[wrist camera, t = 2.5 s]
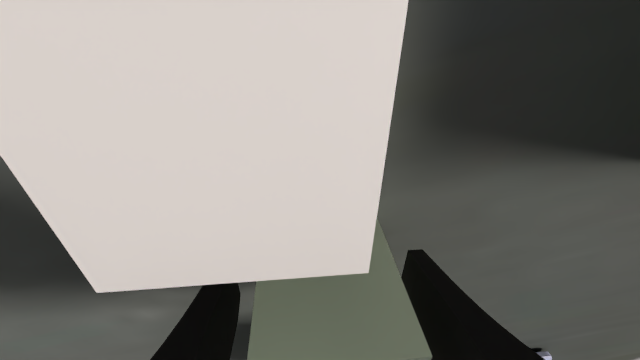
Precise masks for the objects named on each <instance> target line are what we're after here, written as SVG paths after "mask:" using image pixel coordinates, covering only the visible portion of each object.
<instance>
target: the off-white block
mask: <svg viewBox="0 0 640 360" xmlns="http://www.w3.org/2000/svg"><path fill="white" fill-rule="evenodd" d="M407 7H408V0H0V155H1V157H2V158H3V160H4V161H5V163H6V164H7V165H8V167H9V168H10V170H11V171H12V173H13V174H14V175H15V177H16V178H17V180H18V181H19V183H20V184H21V186H22V187H23V188H24V190H25V191H26V193H27V194H28V196H29V197H30V198H31V200H32V201H33V203H34V204H35V206H36V207H37V208H38V210H39V211H40V213H41V214H42V216H43V217H44V218H45V220H46V221H47V223H48V224H49V226H50V227H51V228H52V230H53V231H54V233H55V234H56V236H57V237H58V238H59V240H60V241H61V243H62V244H63V246H64V247H65V248H66V250H67V251H68V253H69V254H70V256H71V257H72V258H73V260H74V261H75V263H76V264H77V266H78V267H79V268H80V270H81V271H82V273H83V274H84V276H85V277H86V278H87V280H88V281H89V283H90V284H91V286H92V287H93V288H94V290H95V291H96V293H102V292H116V291H129V290H143V289H157V288H170V287H184V286H198V285H211V284H225V283H239V282H252V281H266V280H280V279H293V278H307V277H321V276H335V275H348V274H362V273H369V267H370V260H371V253H372V246H373V240H374V233H375V226H376V219H377V212H378V205H379V198H380V192H381V185H382V178H383V171H384V164H385V157H386V151H387V144H388V137H389V130H390V123H391V116H392V110H393V103H394V96H395V89H396V82H397V75H398V69H399V62H400V55H401V48H402V41H403V34H404V28H405V21H406V14H407Z"/></svg>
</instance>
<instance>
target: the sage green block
mask: <svg viewBox="0 0 640 360" xmlns="http://www.w3.org/2000/svg"><path fill="white" fill-rule="evenodd" d="M431 359H432V354H431V351H430V349H429V346H428V344H427V341H426V339H425V336H424V334H423V331H422V329H421V326H420V324H419V321H418V319H417V316H416V314H415V311H414V309H413V306H412V304H411V301H410V299H409V296H408V294H407V291H406V289H405V286H404V284H403V281H402V279H401V276H400V274H399V271H398V269H397V266H396V264H395V261H394V259H393V256H392V254H391V251H390V249H389V246H388V244H387V241H386V239H385V236H384V234H383V231H382V229H381V226H380V224H379V221H378V219H376V226H375V233H374V240H373V246H372V253H371V260H370V267H369V273H362V274H348V275H335V276H321V277H307V278H293V279H280V280H266V281H256V289H255V297H254V305H253V314H252V322H251V331H250V339H249V348H248V356H247V360H431Z"/></svg>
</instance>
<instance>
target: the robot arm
mask: <svg viewBox="0 0 640 360" xmlns="http://www.w3.org/2000/svg"><path fill="white" fill-rule="evenodd" d="M401 279H402V281H403V284H404V286H405V289H406V291H407V294H408V296H409V299H410V301H411V304H412V306H413V309H414V311H415V314H416V316H417V319H418V321H419V324H420V326H421V329H422V331H423V334H424V336H425V339H426V341H427V344H428V346H429V349H430V351H431V354H432V359H431V360H551V359H552V357H551V355H550V354H549V352H546V351H543V352H534V351H533V350H531V349H530V348H529V347H527V346H526V345H525V344H523V343H522V342H521V341H519V340H518V339H517V338H516V337H514V336H513V335H512V334H511V333H509V332H508V331H507V330H506V329H505V328H503V327H502V326H501V325H500V324H498V323H497V322H496V321H495V320H494V319H493V318H491V317H490V316H489V315H488V314H487V313H486V312H485V311H484V310H483V309H481V308H480V307H479V306H478V305H477V304H476V303H475V302H474V301H473V300H472V299H471V298H470V297H468V296H467V295H466V294H465V293H464V292H463V291H462V290H461V289H460V288H459V287H458V286H457V285H456V284H455V283H454V282H453V281H452V280H451V279H450V278H449V277H448V276H447V275H446V274H445V273H444V272H443V271H442V269H441V268H440V267H439V266H438V265H437V264H436V263H435V262H434V261H433V260H432V259H431V258H430V257H429V256H428V255H427V254H426V253H425V252H424V251H423V250H408V253H407V257H406V261H405V265H404V269H403V273H402V277H401ZM239 304H240V291H239V287H238V283H225V284H211V285H203V286H202V288H201V289H200V291H199V293H198V294H197V296H196V297H195V299H194V300H193V302H192V303H191V305H190V306H189V308H188V309H187V311H186V312H185V314H184V315H183V317H182V318H181V320H180V321H179V322H178V324H177V325H176V326H175V328H174V329H173V331H172V332H171V333H170V335H169V336H168V337H167V339H166V340H165V342H164V343H163V344H162V345H161V347H160V348H159V349H158V351H157V352H156V353H155V354H154V356H153V357H152V358H151V359H150V360H229V359H230V355H231V350H232V345H233V341H234V336H235V331H236V326H237V322H238V313H239Z"/></svg>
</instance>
